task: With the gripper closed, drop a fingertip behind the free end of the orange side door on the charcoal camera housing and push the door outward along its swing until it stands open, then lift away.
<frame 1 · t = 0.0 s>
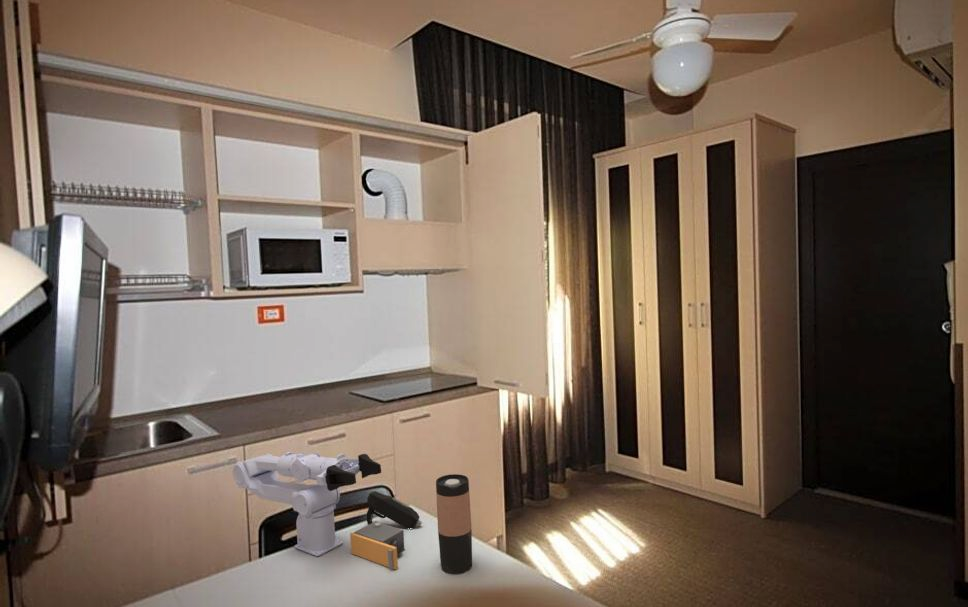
hand: (367, 473, 125), 22 cm above the table, tool horizontal, fingers open, 7 cm apart
travel mug: (456, 567, 123), on the table
side door: (371, 550, 127), point 3 cm above the table, hinge at 0.0°
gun: (394, 527, 146), on the table
camera housing: (379, 551, 133), on the table
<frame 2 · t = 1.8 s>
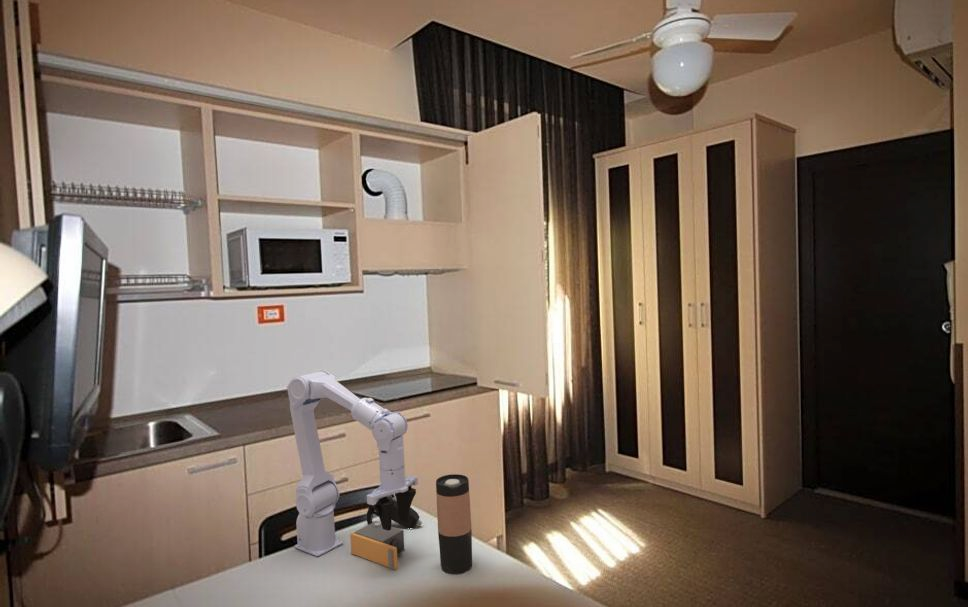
hand: (395, 524, 125), 9 cm above the table, tool pointing down, fingers open, 5 cm apart
nothing on the table moved.
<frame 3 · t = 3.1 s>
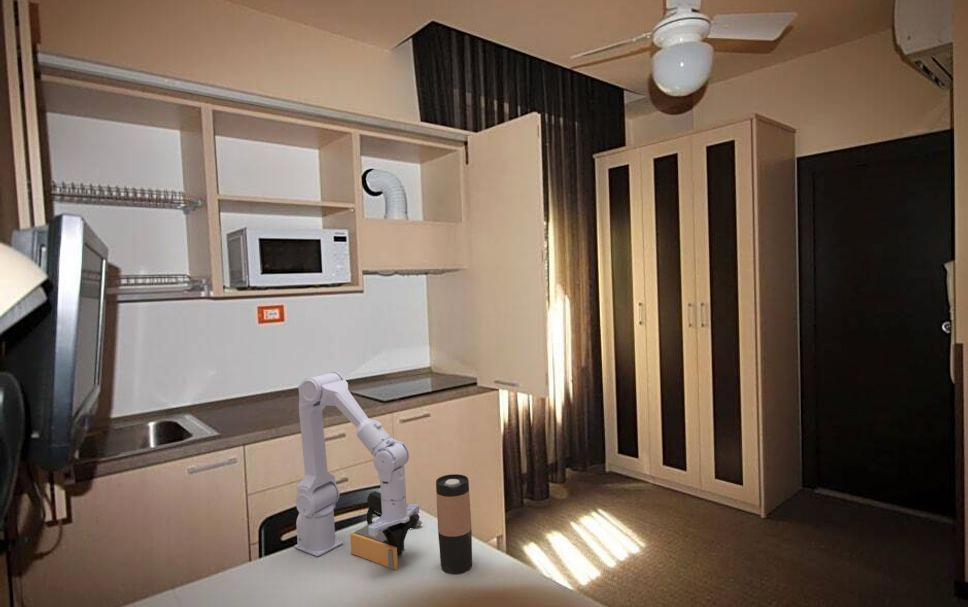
hand: (396, 554, 125), 2 cm above the table, tool pointing down, fingers closed
side door: (371, 550, 127), point 3 cm above the table, hinge at 0.0°, touching gripper
everything else where it was.
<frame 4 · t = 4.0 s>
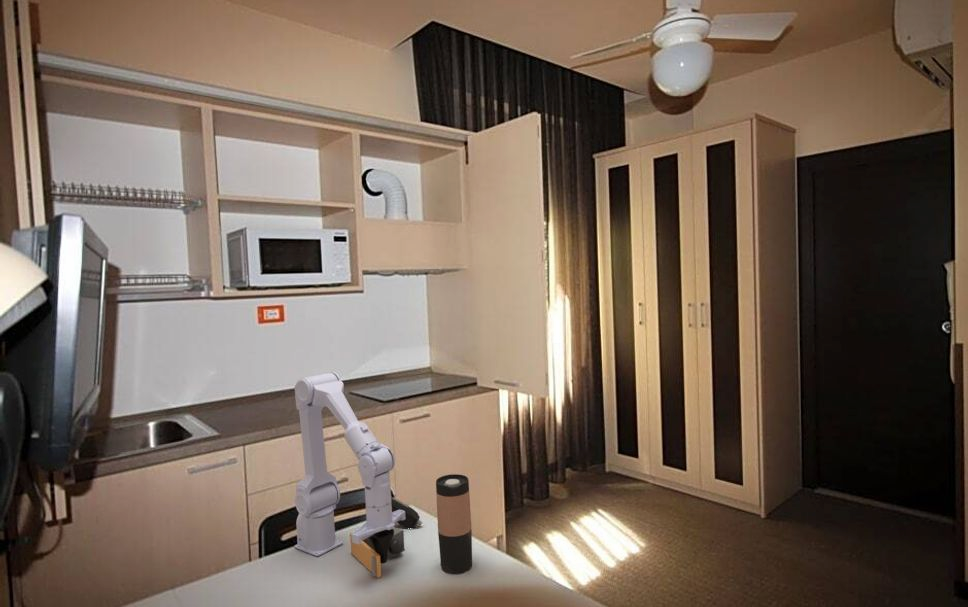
hand: (381, 561, 122), 2 cm above the table, tool pointing down, fingers closed
side door: (363, 554, 126), point 3 cm above the table, hinge at -17.9°, touching gripper
everything else where it was.
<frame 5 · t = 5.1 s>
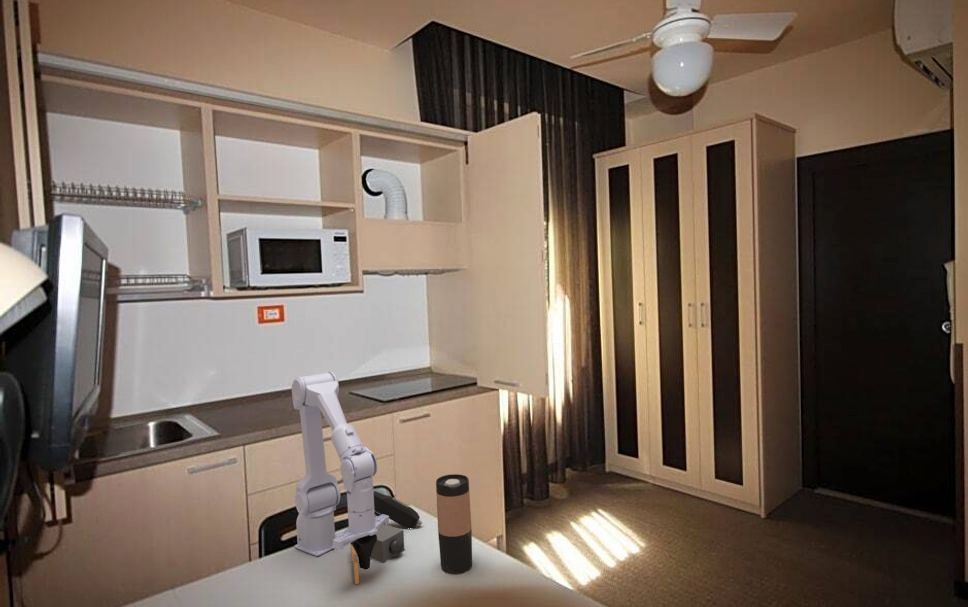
hand: (364, 568, 120), 2 cm above the table, tool pointing down, fingers closed
side door: (352, 557, 125), point 3 cm above the table, hinge at -37.1°, touching gripper
everything else where it was.
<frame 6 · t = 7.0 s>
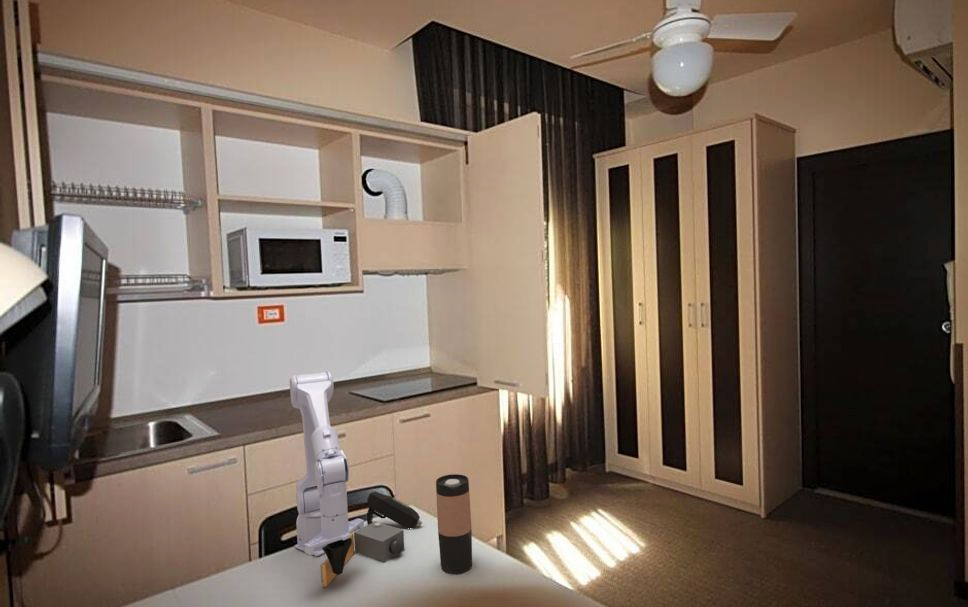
hand: (337, 572, 118), 2 cm above the table, tool pointing down, fingers closed
side door: (338, 557, 125), point 3 cm above the table, hinge at -63.8°, touching gripper
everything else where it was.
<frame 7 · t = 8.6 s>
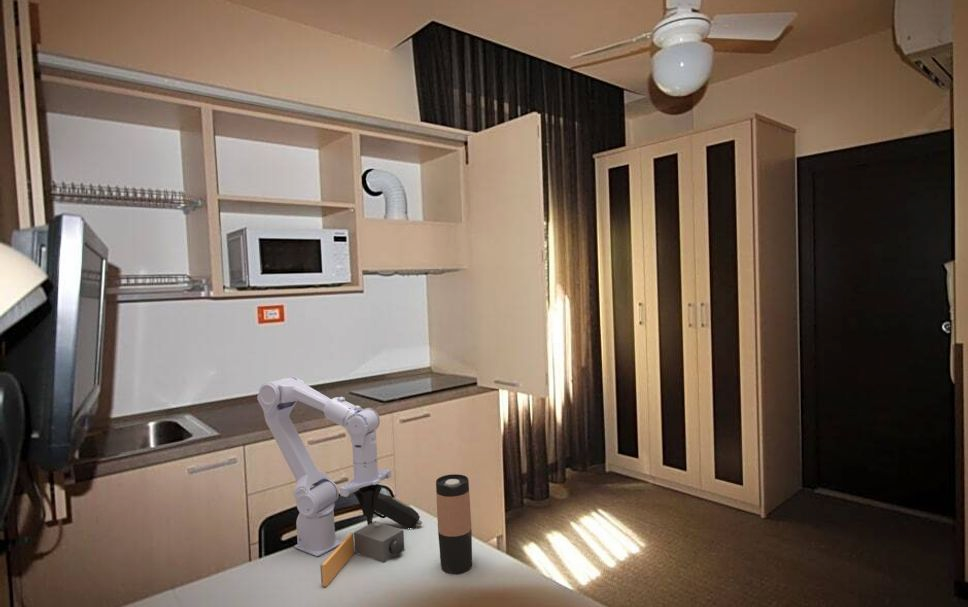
hand: (368, 515, 131), 9 cm above the table, tool pointing down, fingers closed
side door: (338, 557, 125), point 3 cm above the table, hinge at -63.8°
everything else where it was.
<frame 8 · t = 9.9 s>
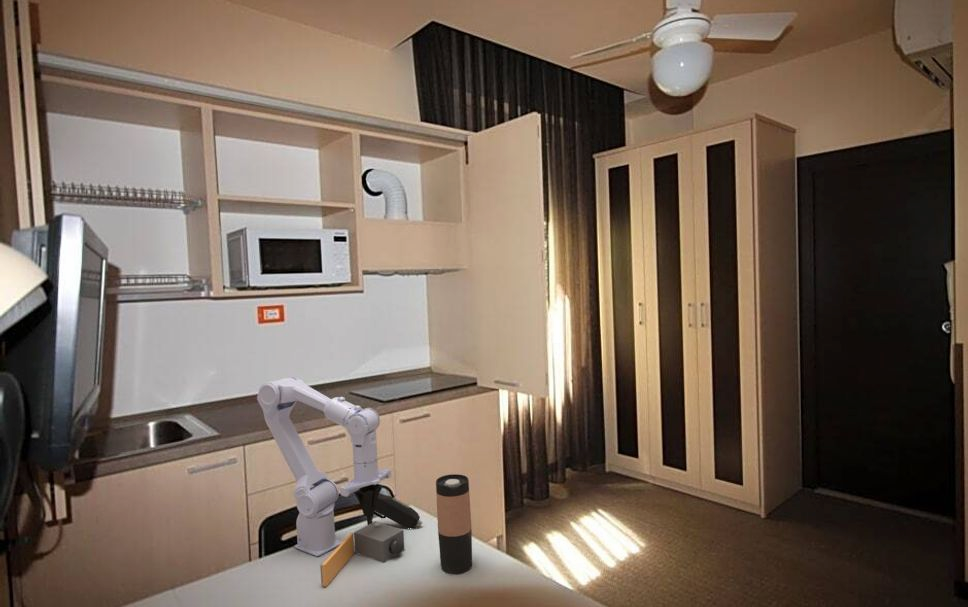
hand: (368, 515, 131), 9 cm above the table, tool pointing down, fingers closed
nothing on the table moved.
at the end: side door at -64° (first picture: +0°) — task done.
